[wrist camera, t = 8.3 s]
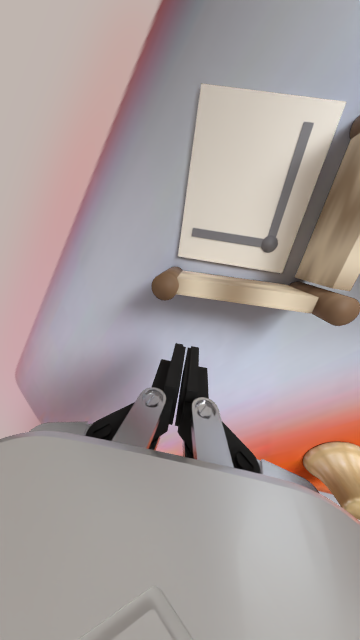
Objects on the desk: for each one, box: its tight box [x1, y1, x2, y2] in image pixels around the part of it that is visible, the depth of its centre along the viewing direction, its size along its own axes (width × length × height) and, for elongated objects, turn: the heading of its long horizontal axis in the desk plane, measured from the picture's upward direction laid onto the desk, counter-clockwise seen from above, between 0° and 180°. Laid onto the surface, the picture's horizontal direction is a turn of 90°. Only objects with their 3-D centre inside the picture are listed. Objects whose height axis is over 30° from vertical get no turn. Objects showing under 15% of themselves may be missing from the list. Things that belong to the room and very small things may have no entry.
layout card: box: [178, 83, 346, 273], centre depth 14 cm, size 12×10×1 cm
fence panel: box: [152, 266, 319, 314], centre depth 14 cm, size 12×2×6 cm, turn 83°
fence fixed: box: [288, 116, 360, 326], centre depth 12 cm, size 14×2×6 cm, turn 171°
